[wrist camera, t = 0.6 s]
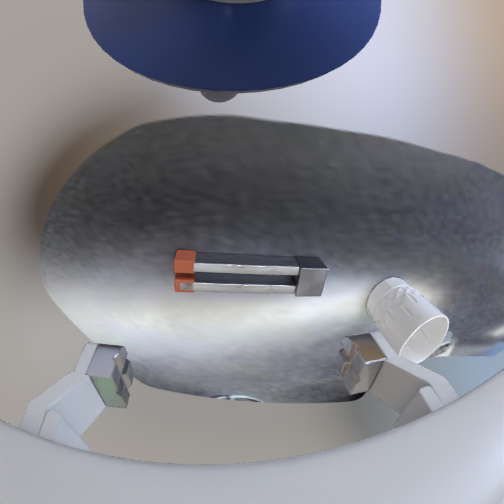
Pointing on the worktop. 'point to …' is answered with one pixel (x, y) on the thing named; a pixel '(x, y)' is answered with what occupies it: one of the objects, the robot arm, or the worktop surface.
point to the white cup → (406, 319)
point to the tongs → (248, 273)
